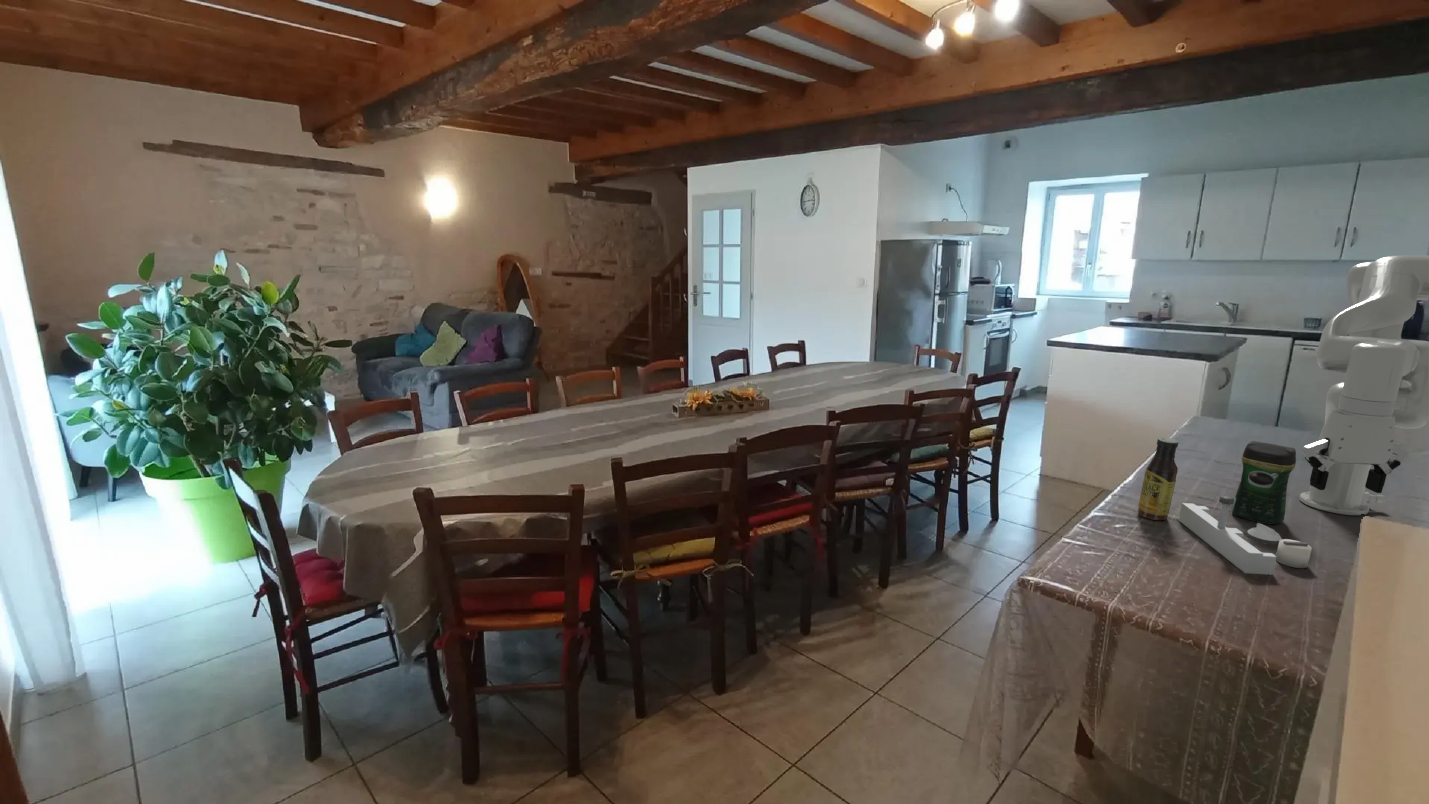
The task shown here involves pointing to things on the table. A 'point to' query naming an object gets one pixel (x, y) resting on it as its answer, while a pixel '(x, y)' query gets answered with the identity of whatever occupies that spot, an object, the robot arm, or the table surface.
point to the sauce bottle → (1159, 481)
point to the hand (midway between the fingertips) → (1344, 489)
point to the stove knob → (1263, 534)
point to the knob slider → (1293, 553)
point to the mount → (1226, 537)
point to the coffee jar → (1264, 482)
